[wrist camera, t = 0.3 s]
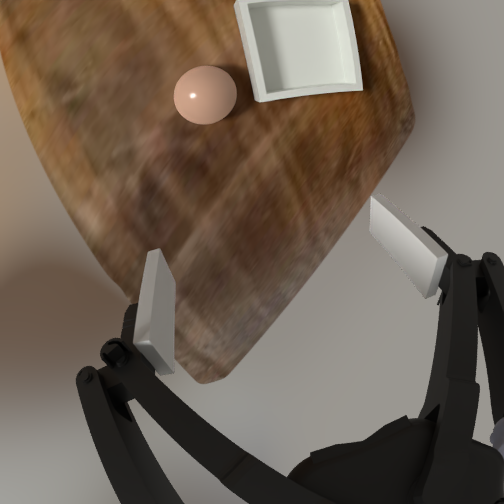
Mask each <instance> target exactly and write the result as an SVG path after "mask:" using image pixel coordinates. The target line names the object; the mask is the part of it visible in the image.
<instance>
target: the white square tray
mask: <svg viewBox="0 0 504 504" xmlns="http://www.w3.org/2000/svg"><path fill="white" fill-rule="evenodd" d="M234 9H235V13H236V17H237V22H238V26H239V30H240V35H241V39H242V43H243V48H244V52H245V57H246V61H247V66H248V71H249V75H250V80H251V85H252V90H253V95H254V99H255V100H256V101H258V102H265V101H271V100H277V99H283V98H290V97H297V96H304V95H313V94H322V93H332V92H344V91H360V90H363V85H362V76H361V68H360V61H359V54H358V48H357V42H356V36H355V31H354V25H353V20H352V15H351V11H350V6H349V2H348V0H236V2H235V4H234Z"/></svg>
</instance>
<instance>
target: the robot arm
mask: <svg viewBox="0 0 504 504" xmlns="http://www.w3.org/2000/svg"><path fill="white" fill-rule="evenodd" d="M370 233H371V234H372V235H373V237H375V239H376V240H377V241H378V242H379V243H380V244H381V246H382V247H383V248H384V249H385V250H386V251H387V252H388V254H389V255H390V256H391V257H392V258H393V259H394V261H395V262H396V263H397V264H398V265H399V267H400V268H401V269H402V270H403V271H404V273H405V274H406V275H407V276H408V278H409V279H410V280H411V281H412V283H413V284H414V285H415V286H416V288H417V289H418V290H419V292H420V293H421V294H422V295H423V297H424V298H425V299H426V298H428V297H431V296H433V295H435V294H436V292H437V289H438V286H439V287H440V288H441V290H442V293H441V295H440V298H439V300H438V303H437V305H439V303H440V311H439V321H438V330H437V339H436V346H435V352H434V359H433V365H432V370H431V376H430V381H429V385H428V390H427V394H426V399H425V403H424V405H423V408H422V410H421V412H420V414H419V417H418V418H413V419H408V417H407V415H405V416H403V417H401V418H399V419H397V420H395V421H393V422H391V423H389V424H387V425H385V426H383V427H382V428H381V429H379V430H378V431H376V432H375V433H374V434H373V435H371V436H370V437H368V438H367V439H365V440H363V441H360V442H353V443H345V444H335V445H333V446H330V447H326V448H324V449H320V450H317V451H314V452H311V453H310V457H308V458H306V459H305V460H303V461H302V462H301V463H299V464H298V465H297V466H296V467H295V468H294V469H293V470H292V471H291V472H290V474H289V475H288V476H287V477H285V476H284V475H282V474H280V473H279V472H277V471H275V470H274V469H272V468H271V467H269V466H267V465H266V464H265V463H263V462H262V461H260V460H258V459H257V458H256V457H254V456H253V455H251V454H249V453H248V452H246V451H244V450H243V449H242V448H240V447H239V446H237V445H236V444H235V443H233V442H232V441H231V440H229V439H228V438H227V437H225V436H224V435H223V434H222V433H220V432H219V431H218V430H216V429H215V428H214V427H213V426H211V425H210V424H209V423H207V422H206V421H205V420H204V419H203V418H201V417H200V416H199V415H198V414H197V413H196V412H195V411H193V410H192V409H191V408H190V407H189V406H188V405H186V404H185V403H184V402H183V401H182V400H181V399H180V398H179V397H178V396H176V395H175V394H174V393H173V392H172V391H171V390H170V389H169V388H168V387H167V386H166V385H164V383H163V382H161V381H160V380H159V379H158V378H157V377H156V376H155V370H156V371H157V372H158V374H159V375H166V374H172V373H174V321H175V289H176V282H175V280H174V278H173V276H172V274H171V272H170V269H169V267H168V265H167V263H166V261H165V259H164V256H163V254H162V252H161V250H160V248H159V249H156V250H152V251H149V252H148V255H147V259H146V264H145V270H144V275H143V280H142V286H141V292H140V297H139V303H136V304H132V305H129V307H128V309H127V310H126V312H125V316H124V322H123V329H122V332H121V339H120V338H113V339H110V340H109V341H107V342H106V343H105V344H104V345H103V347H102V349H101V351H100V356H101V359H102V360H103V361H104V362H105V363H106V364H107V366H105V367H103V368H101V369H99V370H96V369H95V368H94V367H92V366H86V367H84V368H82V369H81V370H80V371H79V373H78V374H77V377H76V385H77V389H78V393H79V397H80V400H81V404H82V408H83V411H84V414H85V417H86V421H87V424H88V427H89V429H90V433H91V436H92V438H93V441H94V444H95V447H96V449H97V451H98V454H99V457H100V459H101V462H102V464H103V467H104V469H105V471H106V474H107V476H108V478H109V480H110V482H111V485H112V487H113V489H114V491H115V493H116V494H117V497H118V499H119V501H120V503H121V504H184V503H183V501H182V500H181V498H180V497H179V495H178V494H177V492H176V491H175V489H174V488H173V486H172V485H171V483H170V482H169V480H168V479H167V477H166V475H165V474H164V472H163V470H162V469H161V467H160V465H159V463H158V462H157V460H156V458H155V456H154V455H153V453H152V451H151V449H150V447H149V445H148V444H147V442H146V440H145V438H144V436H143V434H142V432H141V430H140V428H139V426H138V424H137V422H136V420H135V418H134V416H133V413H132V412H131V409H130V407H129V405H128V403H127V402H128V401H130V400H132V399H134V398H135V399H136V400H137V401H138V402H139V403H140V404H141V406H142V407H143V408H144V409H145V410H146V411H147V412H148V414H149V415H151V417H152V418H153V419H154V420H155V421H156V422H157V423H158V424H159V425H160V426H161V427H162V428H163V429H164V430H165V431H166V432H167V433H168V434H169V435H170V436H171V437H172V438H173V439H174V440H175V441H176V442H177V443H178V444H179V445H180V446H181V447H182V448H183V449H184V450H185V451H186V452H188V453H189V454H190V455H191V456H192V457H193V458H194V459H195V460H197V461H198V462H199V463H200V464H201V465H202V466H204V467H205V468H206V469H207V470H208V471H210V472H211V473H212V474H213V475H214V476H215V477H217V478H218V479H219V480H220V482H221V483H222V484H223V485H224V486H226V487H227V488H228V489H229V490H231V491H232V492H233V493H235V494H236V495H237V496H239V497H240V498H242V499H243V500H244V501H246V502H247V503H249V504H504V266H503V263H502V261H501V259H500V258H499V257H498V256H497V255H496V254H494V253H491V252H486V253H484V254H483V256H482V259H481V260H474V261H472V260H471V258H470V257H468V256H466V255H464V254H456V253H455V252H453V250H452V249H450V247H448V246H447V245H446V244H445V243H444V242H443V241H441V239H440V238H439V237H437V235H436V234H435V233H434V232H433V231H431V230H430V229H427V228H426V227H424V226H423V227H419V226H418V225H417V224H416V223H415V222H414V221H412V219H410V218H409V217H408V216H407V215H406V214H405V213H404V212H402V211H401V210H400V209H399V208H398V207H397V206H395V205H394V204H393V203H392V202H391V201H390V200H388V199H387V198H386V197H385V196H383V195H382V194H376V195H372V196H371V212H370ZM478 327H479V332H480V336H481V341H482V346H483V351H484V356H485V362H486V368H487V374H488V382H489V390H490V399H491V407H492V415H493V420H494V424H495V427H494V429H493V433H492V434H491V436H490V442H491V443H492V444H493V447H491V446H488V445H486V444H483V443H481V442H478V441H476V440H473V439H472V437H473V431H474V426H475V420H476V414H477V409H478V401H479V393H480V386H479V384H478V383H476V381H475V377H476V365H477V344H478Z"/></svg>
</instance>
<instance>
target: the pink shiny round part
mask: <svg viewBox="0 0 504 504" xmlns="http://www.w3.org/2000/svg"><path fill="white" fill-rule="evenodd" d="M236 97H237V90H236V86H235V83H234V81H233V79H232V78H231V76H230V75H229V74H228V73H226V72H225V71H224V70H222V69H220V68H217V67H214V66H200V67H196V68H193V69H191V70H189V71H188V72H186V73H185V74H184V75H183V76H182V77H181V78H180V79H179V81H178V83H177V84H176V87H175V91H174V102H175V106H176V108H177V110H178V111H179V113H180V114H181V115H182V116H183V117H184V118H185V119H187V120H188V121H191V122H193V123H196V124H211V123H215V122H217V121H219V120H221V119H223V118H224V117H226V116H227V115H228V114H229V113H230V111H231V110H232V108H233V107H234V105H235V102H236Z"/></svg>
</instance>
